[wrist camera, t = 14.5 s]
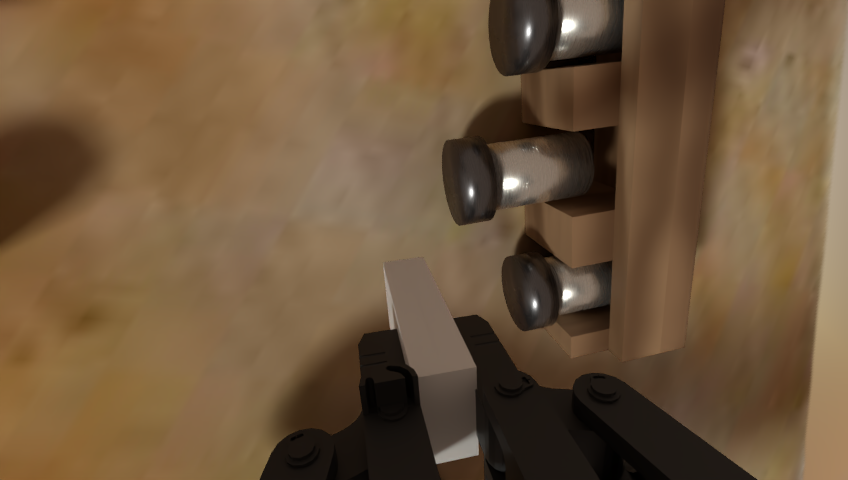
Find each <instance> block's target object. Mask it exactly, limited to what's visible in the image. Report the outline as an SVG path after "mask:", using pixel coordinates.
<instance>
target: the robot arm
mask: <svg viewBox="0 0 848 480" xmlns="http://www.w3.org/2000/svg"><path fill="white" fill-rule="evenodd" d="M383 269H384V278H385V287H386V296H387V305H388V314H389V324H390V330H385V331H379V332H373V333H367V334H364V335H363V337H362V339H361V341H360V343H359V344H358V348H359V359H360V370H361V379H360V384H359V389H360V396H361V403H362V412H361V414H360V416H359V417H358V418H357V420H356V421H355V422H354V423H352V424H351V425H350V426H349V427H347V428H346V429H344V430H342V431H340V432H338V433H336V434H334V435H332V436H330V435H329V434H328V433H326V432H325V431H323V430H319V429H312V428H311V429H304V430H299V431H297V432H295V433H292V434H290V435H288V436H287V437H286V438H284V439H283V440H282V441H281V442H279V443H278V444H277V446H276V447H275V449H274V450H273V452H272V453H271V455H270V458H269V460H268V462H267V464H266V466H265V469H264V471H263V473H262V475H261V478H260V480H441V479H440V477H439V473H438V469H437V465H436V464H439V463H444V462H449V461H453V460H458V459H463V458H467V457H472V456H477V455H479V447H478V440H479V443H480V445H481V448H482V450H483V453H484V476H485V480H757V479H756V478H754V477H753V476H752V475H750V474H749V473H747V472H746V471H745V470H743V469H742V468H741V467H739V466H738V465H737V464H735V463H734V462H732V461H731V460H730V459H728V458H727V457H726V456H724V455H723V454H722V453H720V452H719V451H717V450H716V449H715V448H713V447H712V446H711V445H709V444H708V443H707V442H705V441H704V440H702V439H701V438H700V437H698V436H697V435H696V434H694V433H693V432H691V431H690V430H689V429H687V428H686V427H685V426H683V425H682V424H681V423H679V422H678V421H676V420H675V419H674V418H672V417H671V416H670V415H668V414H667V413H666V412H664V411H663V410H661V409H660V408H659V407H657V406H656V405H655V404H653V403H652V402H651V401H649V400H648V399H646V398H645V397H644V396H642V395H641V394H640V393H638V392H637V391H635V390H634V389H633V388H631V387H630V386H629V385H627V384H626V383H625V382H623V381H621V380H619V379H617V378H616V377H613V376H610V375H606V374H600V373H590V374H586V375H582V376H581V377H579V378H578V379H576V380H575V383H574V385H573V390H568V389H552V388H545V387H541V386H539V385H538V384H537V382H536V381H535V380H534V379H533V378H532V377H531V376H529V375H527V374H525V373H523V372H521V371H518V370H517V368H516V367H515V365H514V363H513V362H512V360H511V359H510V357H509V355H508V354H507V352H506V350H505V349H504V347H503V346H502V344H501V342H499V339H498V337H497V336H496V334H494V331H493V329H492V328H491V326H490V325H489V323H488V322H487V321H485V320H484V319H482V318H481V317H479V316H478V315H471V316H465V317H459V318H453V317H452V315H451V313H450V311H449V309H448V307H447V305H446V303H445V301H444V299H443V297H442V295H441V292H440V290H439V288H438V286H437V284H436V282H435V280H434V278H433V276H432V274H431V272H430V270H429V268H428V266H427V264H426V262H425V259H424V257H418V258H411V259H403V260H396V261H389V262H383Z"/></svg>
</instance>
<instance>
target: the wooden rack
mask: <svg viewBox="0 0 848 480" xmlns="http://www.w3.org/2000/svg"><path fill="white" fill-rule="evenodd" d="M724 7H725V0H624V18H623V40H622V52H620V53H612V54H603V55H596V63H588V64H580V65H572V66H564V67H555V68H547V69H543V70H542V71H540V72H537V73H529V74H521V96H522V123H528V124H533V125H539V126H544V127H550V128H555V129H561V130H567V131H572V132H575V131H582V130H588V129H594V178H593V182H592V185H591V187H590V189H589V191H588V192H587V193H586V194H584V195H582V196H576V197H570V198H564V199H559V200H553V201H547V202H541V203H535V204H529V205H525V229H526V235H528V236H529V237H530V238H532V239H533V240H534V241H536V242H537V243H538V244H540V245H541V246H542V247H544V248H545V249H546V250H548V251H549V252H550V253H552V254H553V255H554V256H556V257H557V258H559V259H560V260H561V261H563V262H564V263H565V264H567V265H568V266H569V267H571V268H577V267H582V266H587V265H592V264H597V263H602V262H607V261H612V260H613V261H612V283H611V304H609V305H605V306H600V307H595V308H591V309H586V310H581V311H577V312H572V313H567V314H563V315H558V318H557V321H556V322H555V324H554V325H552V326H547V327H543V328H544V329H545V330H546V331H547V332H548V333H549V334H550V335H551V337H552V338H553V339H554V340H555V341H556V342H557V343H558V344H559V345H560V347H561V348H562V349H563V350H564V351H565V352H566V353H567V354H568V356H569V357H570V358H575V357H579V356H583V355H588V354H592V353H596V352H600V351H605V350H609V351H610V352H612V353H613V354H614V355H615V356H616V357H617V358H618V359H619V360H620V361H621V362H625V361H629V360H634V359H638V358H642V357H646V356H650V355H655V354H659V353H663V352H667V351H671V350H675V349H680V348H684V347H685V340H686V331H687V323H688V314H689V305H690V297H691V288H692V280H693V271H694V263H695V254H696V246H697V237H698V229H699V220H700V212H701V203H702V195H703V186H704V177H705V169H706V160H707V152H708V143H709V135H710V126H711V118H712V109H713V101H714V92H715V84H716V75H717V67H718V58H719V49H720V41H721V32H722V24H723V15H724Z"/></svg>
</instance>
